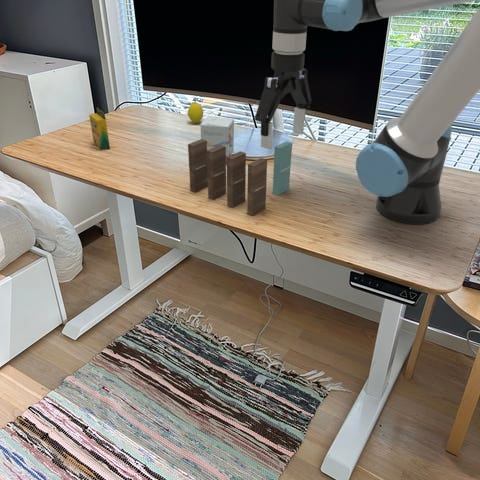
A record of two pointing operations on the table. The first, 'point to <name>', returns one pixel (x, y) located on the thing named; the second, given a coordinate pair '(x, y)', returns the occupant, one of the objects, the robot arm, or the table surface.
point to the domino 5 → (282, 167)
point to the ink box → (218, 133)
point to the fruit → (195, 112)
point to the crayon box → (99, 130)
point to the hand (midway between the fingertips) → (282, 140)
